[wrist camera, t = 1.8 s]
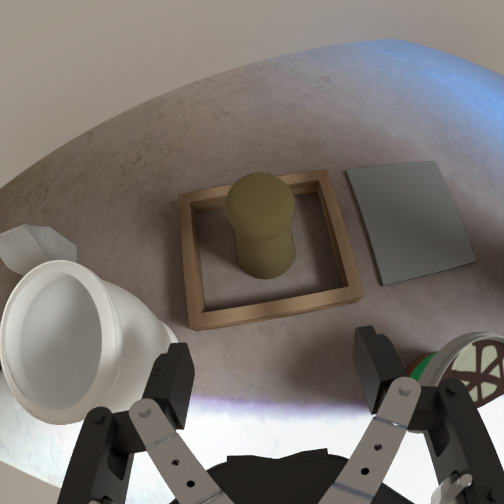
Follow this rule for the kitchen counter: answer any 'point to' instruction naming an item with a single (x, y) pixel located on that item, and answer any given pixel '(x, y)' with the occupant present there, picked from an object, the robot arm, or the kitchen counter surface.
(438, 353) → the food container
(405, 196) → the mat
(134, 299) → the jar
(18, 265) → the white tea box
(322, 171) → the frame
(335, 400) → the kitchen counter surface
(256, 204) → the olive pawn figure
